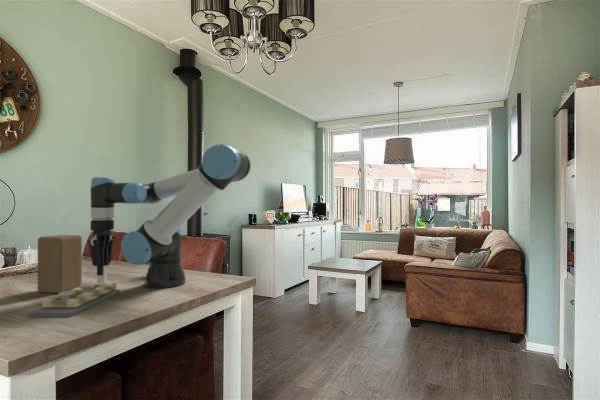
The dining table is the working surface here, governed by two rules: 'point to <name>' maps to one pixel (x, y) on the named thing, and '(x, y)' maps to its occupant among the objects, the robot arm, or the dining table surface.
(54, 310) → the boss board
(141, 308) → the dining table surface
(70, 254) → the wooden block
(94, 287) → the panel
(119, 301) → the dining table surface
